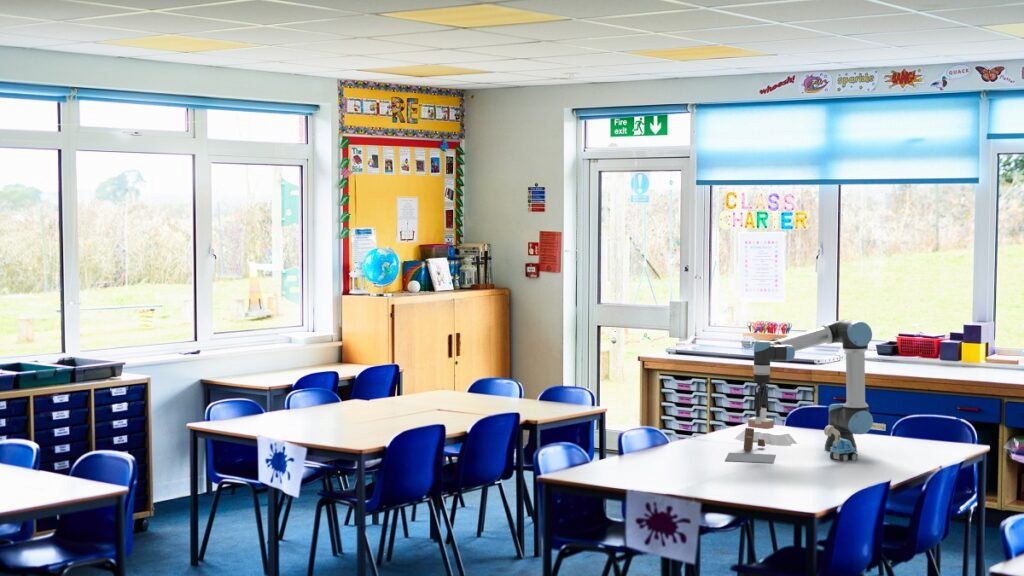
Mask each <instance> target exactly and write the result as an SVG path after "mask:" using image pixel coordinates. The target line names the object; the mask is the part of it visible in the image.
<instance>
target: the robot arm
mask: <svg viewBox="0 0 1024 576" xmlns="http://www.w3.org/2000/svg"><path fill="white" fill-rule="evenodd" d="M872 338H873V332H872V328H871V327H870V325H869V324H868V323H866V322H864V321H861V320H857V319H844V318H843V319H839V320H836V321H833V322H829V323H827V324H823V325H821V327H820V328H816V329H813V330H809V331H806V332H801V333H798V334H795V335H790V336H787V337H784V338H780V339H777V340H776V339H775V340H774V341H770V340H755V342H754V344H753V366H752V369H753V373H754V374H753V383H756V386H755V387H754V399H753V401H754V403H753V410H754V412H755V414H754V415H755V416H754V417H755V424H761V418H767V410H768V409H769V407H770V406H769V385H767V384H769V383H770V381H771V379H770V378H771V375H770V374H771V362H789V361H793V360H794V358H795V356H796V355H795V354H796V352H798V351H801V350H805V349H810V348H812V347H816V346H819V345H822V344H827V345H830V344H836V343H837V344H842V350H843V351H844V352H845V374H846V375H845V379H846V380H845V381H846V383H845V387H846V389H845V390H846V396H845V397H846V401H845V403H832V404H830V405H829V407H828V425H831V426H834V429H836V430H838V431H839V432H840V438H843V439H847V440H849V441H850V442H851V443H852V447H854V448H855V451H856V450H857V449H858V448H857V446H858V445H857V443H856V440H855V437H854V435H864V434H867V433H869V431H870V430H871V429H872V427H873V424H874V419H873V415H872V414H871V413H870V412H869V404H868V403H867V402H866V375H865V374H866V373H865V372H866V370H865V369H866V368H865V367H866V366H865V365H866V361H865V358H866V357H865V356H866V355H865V353H866V351H867V350H868V347H869V345H868V344H870V342H871V341H872ZM834 441H835V435H834V434H833V433H831V436H827V438H826V440H825V444H824V450H825V451H827V452H830V447H833V442H834ZM857 451H858V450H857ZM857 451H856V452H857Z"/></svg>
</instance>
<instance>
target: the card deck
mask: <svg viewBox="0 0 1024 576" xmlns="http://www.w3.org/2000/svg"><path fill="white" fill-rule="evenodd" d="M774 422H775V419H773V418H768V417H766V418H761V424H755V416H752V417H748V419H747V423H748V425H747V428H753V429H767V430H769V429H770V430H771V429H774V425H775V423H774Z"/></svg>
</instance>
